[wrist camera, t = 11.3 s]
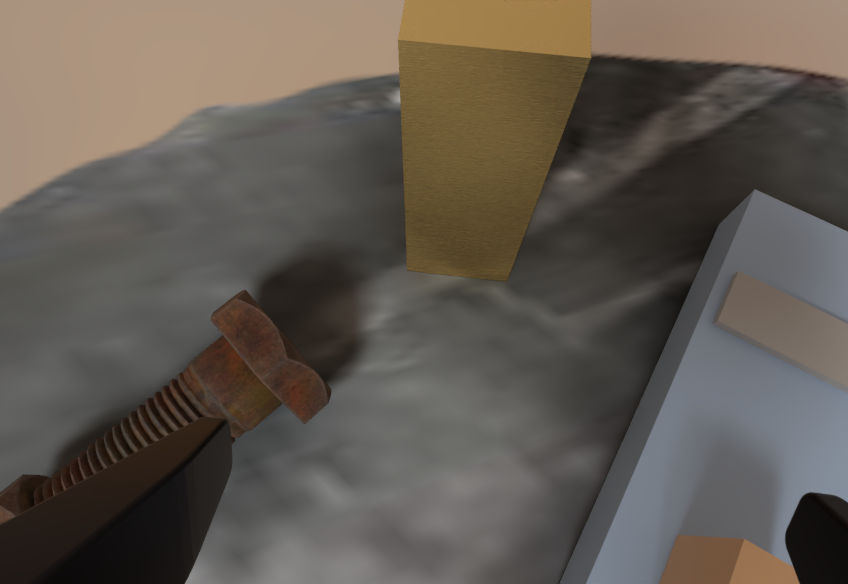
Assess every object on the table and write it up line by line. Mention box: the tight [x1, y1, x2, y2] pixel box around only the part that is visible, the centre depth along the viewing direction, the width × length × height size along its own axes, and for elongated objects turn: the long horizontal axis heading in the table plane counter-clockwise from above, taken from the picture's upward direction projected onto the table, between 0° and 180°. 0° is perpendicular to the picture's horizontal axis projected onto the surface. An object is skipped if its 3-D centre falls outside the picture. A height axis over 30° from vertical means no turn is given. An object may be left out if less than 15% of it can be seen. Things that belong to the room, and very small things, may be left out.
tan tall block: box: [398, 0, 591, 281], centre depth 20 cm, size 4×4×13 cm
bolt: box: [0, 290, 331, 524], centre depth 20 cm, size 6×5×15 cm
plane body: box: [559, 190, 848, 584], centre depth 19 cm, size 18×7×7 cm, turn 149°
